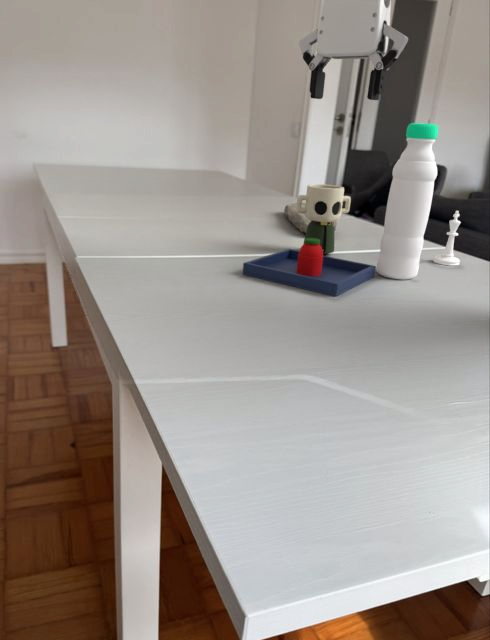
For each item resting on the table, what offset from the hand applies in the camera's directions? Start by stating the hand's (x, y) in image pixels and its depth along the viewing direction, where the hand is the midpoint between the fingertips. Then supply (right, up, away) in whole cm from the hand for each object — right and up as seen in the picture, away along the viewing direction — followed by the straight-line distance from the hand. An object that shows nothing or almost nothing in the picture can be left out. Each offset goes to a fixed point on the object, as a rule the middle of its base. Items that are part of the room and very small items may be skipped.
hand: (343, 99), depth 87 cm
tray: (-4, -27, +8) cm, 28 cm away
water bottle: (+12, -27, +11) cm, 31 cm away
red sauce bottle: (-4, -27, +7) cm, 28 cm away
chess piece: (+25, -23, +21) cm, 40 cm away
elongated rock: (+3, -8, +52) cm, 53 cm away
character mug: (0, -20, +24) cm, 32 cm away
